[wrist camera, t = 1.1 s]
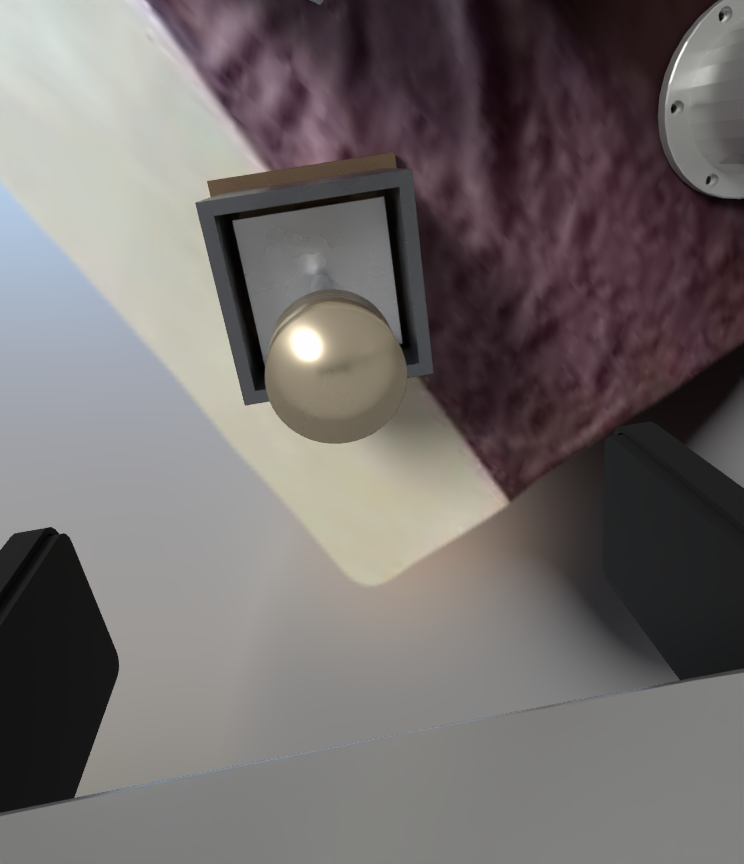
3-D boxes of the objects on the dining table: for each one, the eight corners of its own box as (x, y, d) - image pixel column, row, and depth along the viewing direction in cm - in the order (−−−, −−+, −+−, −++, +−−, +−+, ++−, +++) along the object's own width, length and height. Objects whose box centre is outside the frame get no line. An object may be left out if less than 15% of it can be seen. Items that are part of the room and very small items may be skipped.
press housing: (392, 152, 40) (426, 147, 29) (413, 330, 45) (449, 384, 34) (209, 180, 40) (173, 187, 29) (250, 358, 45) (233, 421, 34)
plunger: (382, 196, 33) (452, 224, 18) (400, 339, 36) (472, 469, 21) (233, 219, 33) (172, 269, 17) (265, 362, 36) (238, 511, 21)
